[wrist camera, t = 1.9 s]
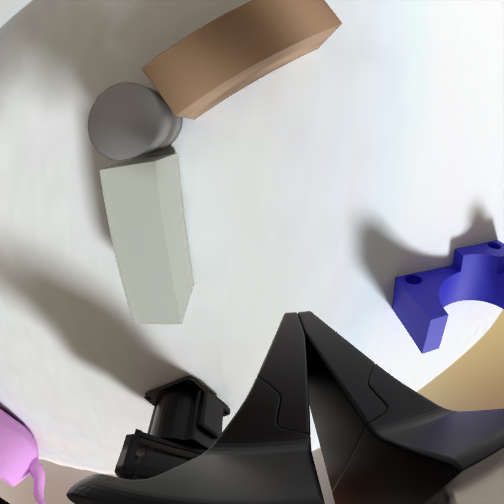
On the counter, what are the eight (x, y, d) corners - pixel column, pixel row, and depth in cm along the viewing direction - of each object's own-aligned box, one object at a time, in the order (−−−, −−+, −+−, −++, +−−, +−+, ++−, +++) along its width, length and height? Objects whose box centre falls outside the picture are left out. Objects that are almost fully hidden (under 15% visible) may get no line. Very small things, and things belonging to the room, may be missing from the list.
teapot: (-10, 422, 36) (-32, 465, 22) (-28, 378, 29) (-62, 432, 15) (70, 472, 41) (54, 521, 27) (71, 446, 34) (47, 513, 20)
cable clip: (496, 239, 20) (537, 267, 14) (488, 281, 22) (523, 312, 16) (395, 259, 21) (434, 300, 15) (391, 307, 22) (422, 353, 17)
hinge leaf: (122, 98, 15) (86, 92, 11) (179, 88, 15) (157, 75, 11) (149, 284, 20) (128, 323, 16) (199, 283, 20) (188, 323, 16)
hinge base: (146, 162, 17) (114, 175, 13) (115, 118, 16) (76, 118, 11) (321, 53, 15) (347, 29, 10) (287, 8, 13) (301, -27, 9)
